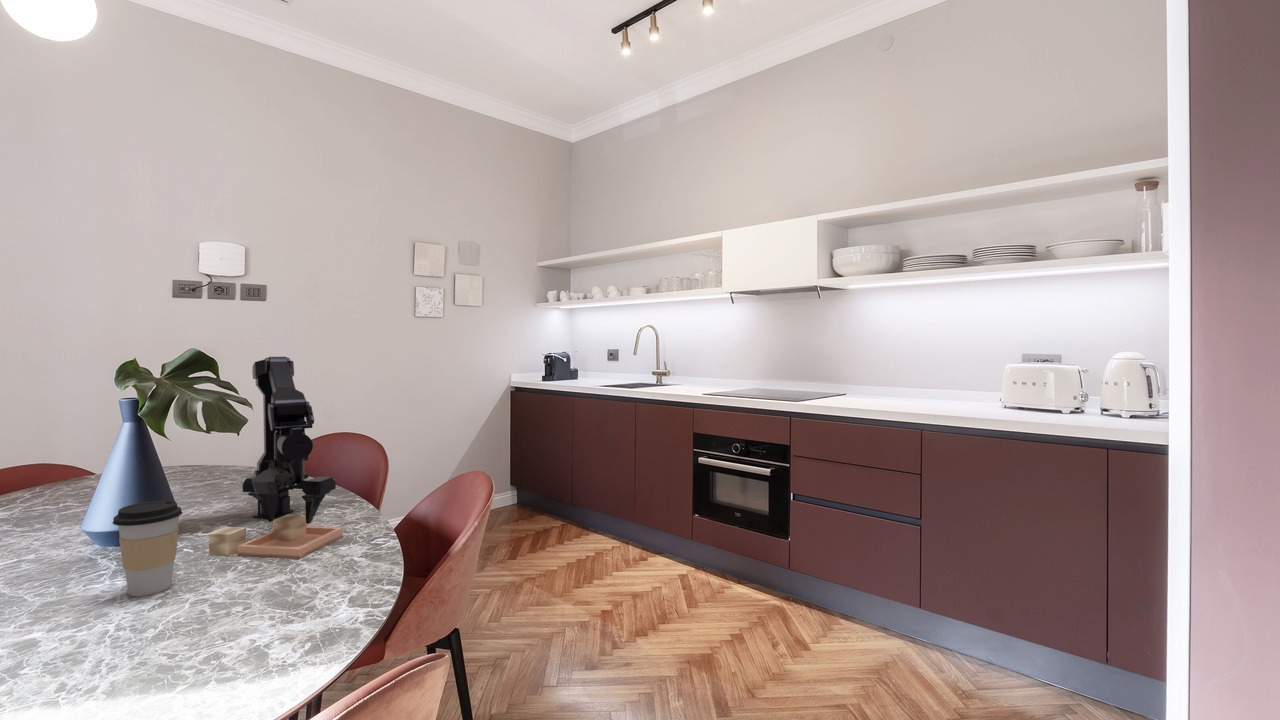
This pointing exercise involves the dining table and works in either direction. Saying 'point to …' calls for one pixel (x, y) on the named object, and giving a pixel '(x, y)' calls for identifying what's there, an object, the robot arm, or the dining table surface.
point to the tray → (290, 544)
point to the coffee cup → (148, 545)
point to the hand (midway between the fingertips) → (289, 522)
